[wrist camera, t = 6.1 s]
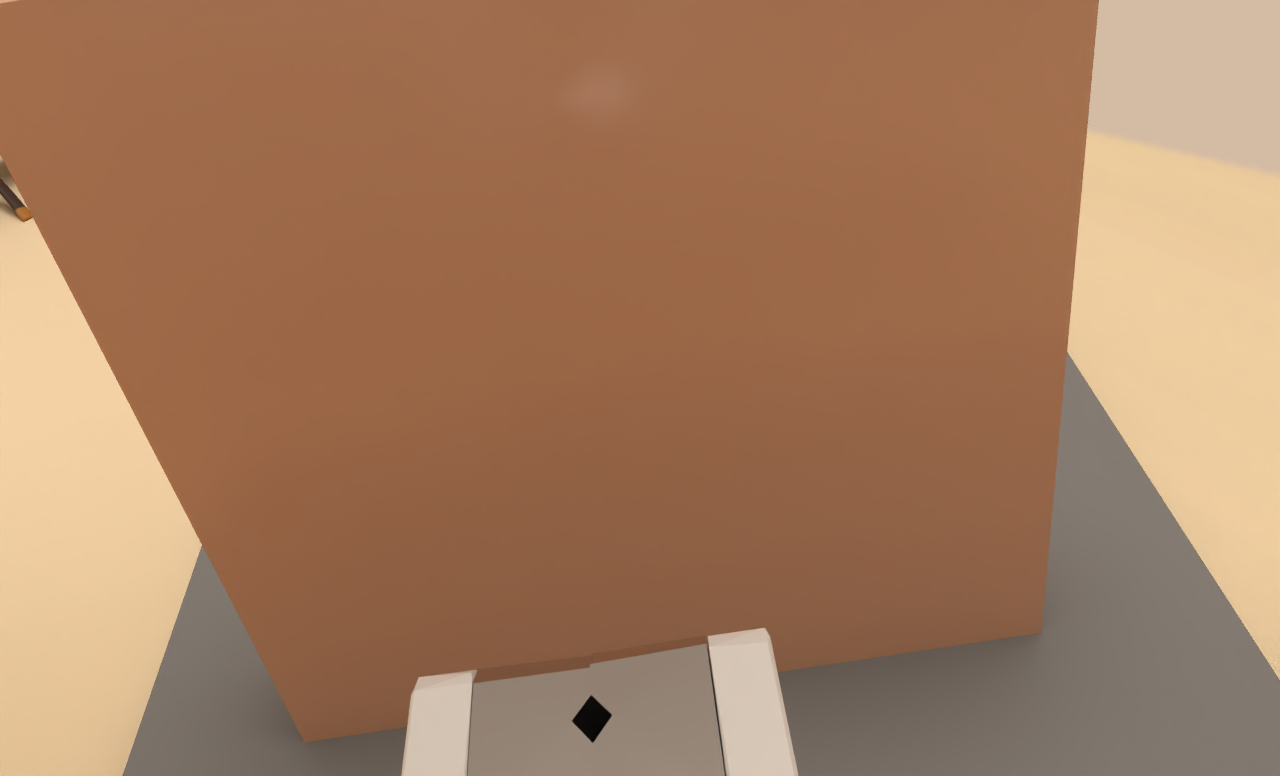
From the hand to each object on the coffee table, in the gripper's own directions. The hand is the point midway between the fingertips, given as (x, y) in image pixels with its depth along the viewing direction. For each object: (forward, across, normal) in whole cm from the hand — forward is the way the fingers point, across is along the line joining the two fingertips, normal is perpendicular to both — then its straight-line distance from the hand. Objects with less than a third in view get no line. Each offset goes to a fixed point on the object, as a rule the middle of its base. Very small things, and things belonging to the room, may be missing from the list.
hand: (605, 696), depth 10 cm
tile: (+6, 0, +7) cm, 9 cm away
